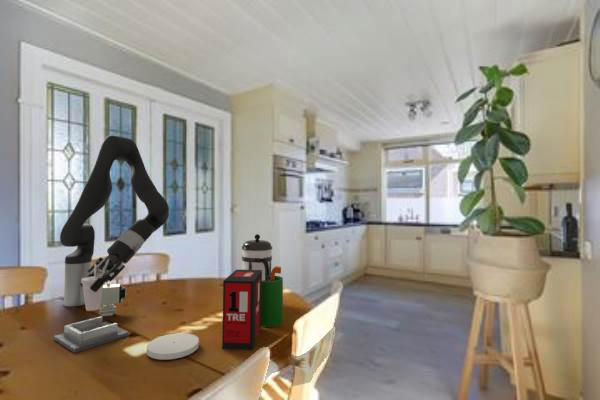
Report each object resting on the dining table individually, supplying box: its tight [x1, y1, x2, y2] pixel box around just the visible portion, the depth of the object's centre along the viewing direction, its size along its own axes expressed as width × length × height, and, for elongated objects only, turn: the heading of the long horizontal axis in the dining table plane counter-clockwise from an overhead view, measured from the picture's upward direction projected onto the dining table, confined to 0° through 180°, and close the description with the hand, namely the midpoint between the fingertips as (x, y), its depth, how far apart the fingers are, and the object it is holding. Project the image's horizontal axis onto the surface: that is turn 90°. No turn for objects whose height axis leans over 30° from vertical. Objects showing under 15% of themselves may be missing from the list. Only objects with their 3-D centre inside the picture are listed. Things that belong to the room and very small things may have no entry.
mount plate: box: [53, 315, 129, 354], centre depth 100 cm, size 15×15×4 cm
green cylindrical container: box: [261, 266, 284, 328], centre depth 117 cm, size 10×9×20 cm
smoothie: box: [81, 263, 104, 312], centre depth 101 cm, size 6×6×14 cm
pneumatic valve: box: [98, 282, 127, 318], centre depth 121 cm, size 6×12×12 cm, turn 115°
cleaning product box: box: [221, 269, 262, 351], centre depth 102 cm, size 16×9×20 cm, turn 178°
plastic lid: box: [146, 332, 200, 361], centre depth 93 cm, size 14×14×2 cm
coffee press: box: [241, 233, 273, 281], centre depth 133 cm, size 17×16×30 cm
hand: (87, 288), depth 99 cm, fingers closed on smoothie, 6 cm apart
